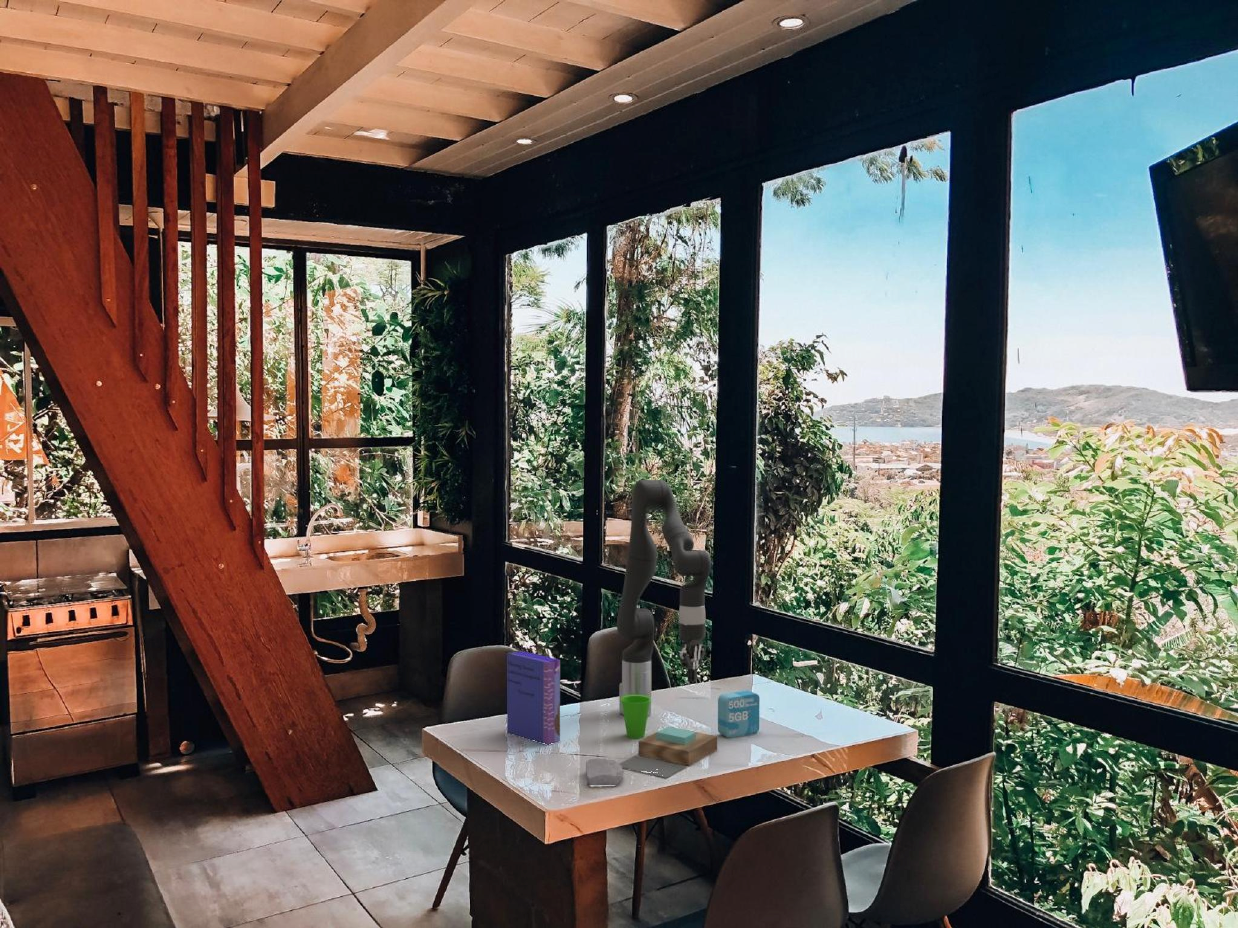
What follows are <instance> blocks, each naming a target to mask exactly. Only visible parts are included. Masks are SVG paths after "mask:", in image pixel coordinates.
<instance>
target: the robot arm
mask: <svg viewBox="0 0 1238 928" xmlns="http://www.w3.org/2000/svg"><path fill="white" fill-rule="evenodd" d="M647 511H662V512H663V513H664V515H665V518H664V521H663V525H662V535H663V538H664V540H665V542H666V544H667V546H668V547H669V549H670V552H671V557H672V564H673V568H674V571H675V573H676V574H677V575H679V576H681V577H691V576H693V578H692V580H691V581H690V582H686V583H683V584H682V585H681V586H680V589H679V610H678V637H679V638H680V639H682V645H681V648H682V650H681V651H678V652H677V657H678V660H679V661H680V664H681V665H682V668H685V669H686V670H687V682H689V683H695V682H697V680H698V679H697V678H698V676H697V675H698V673H697V672H698V668H699V666H701V665H702V662H703V660H704V657H705V654H706V651H707V645H703V639H704V638H706V608H705V604H706V603H705V599H706V598H705V597H706V595H705V593H706V588H707V582H708V579H709V576H710V571H711V568H712V560H711V559H712V558H711V556H710V555H709V553H708V552H707V551H706V550H701V549H700V550H699V549H698V550H693V549H694V547H695V543H694V540H693V538H692V536H691V534H690V533H689V531H688V529H687V528H686V525H685V524H684V522H683V520H682V517H681V514H680V512H679V511H680V510H679V508H678V505H677V502H676V499H675V497H674V494H673V491H672V489H671V487H670V485H669V483H668V482H666V481H665V480H661V479H660V480H659V479H640V480H638V481H636V482H635V484H634V486H633V489H632V497H631V519H630V521H631V523H630V535H629V542H628V549H627V554H626V555H627V556H626V566H625V574H624V580H623V581H624V583H623V587H622V588H623V589H622V596H621V599H620V603H619V608H618V613H617V618H616V619H617V620H616V628H617V629H616V630H617V635H618V636H619V637H620V639H622V640H625V641H627V640H629V641H630V640H634V641H632V644H630V645H629V646H628V647H627V648H624V650H622V654H621V655H622V656H621V657H622V658H621V660H622V661H621V663H622V664H621V665H622V666H621V679H622V680H621V682H620V683H619V684H618V685H619V687H618V688H619V691H618V692H619V695H618V696H619V697H618V698H619V700H618V701H619V703H618V704H619V705H618V706H619V707H618V708H619V710H618V713H619V714H622V715H623V716H624V713H623V706H622V701H621V700H620V699H621V697H623V696H627V695H644V696H648V697H650V698H651V699H652V655H653V652H654V643H655V642H654V640H655V619H654V615H653V613H652V612H651V610H649V608H638V603H639V601H640V599H641V598H640V597H641V596H642V594H643V592H644V591H645V590H646V588H647V587H648V585H649V584H650V582H651V581H652V579H653V577H654V575H655V572H656V568H657V559H658V549H657V546H656V544H655V541H654V540H653V538H652V536H651V534H650V532H649V529H648V527H647V526H648V525H647ZM650 715H652V700H651V701H650V704H649V710H648V716H650Z"/></svg>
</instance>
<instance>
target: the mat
mask: <svg viewBox="0 0 1238 928" xmlns="http://www.w3.org/2000/svg"><path fill="white" fill-rule="evenodd" d="M618 763H619V762H618ZM619 764H620V765H621V767H622V768H626V769H625V770H627V769H631V770H634V771H633V772H635V771H639V772H638V773H640V772H641V771H647V772H651V771H652V772H651V773H648V774H652V775H657V776H659V777H658V778H661V777H664V778H663V779H665V778H667V777H669V778H670V777H672V776H674V775H675V773H676V774H678V773H679V772H681V771H683V770H685V769H686V768H687V766H685V765H681V764H676V763H672V762H667V761H663V760H658V759H654V758H649V757H645V756H640V755H634V756H632V757H630V758H627V759H625V760H624V761H622V762H620V763H619ZM684 768H685V769H684ZM656 769H658V770H656ZM682 769H683V770H682ZM631 770H630V771H631ZM653 772H658V773H653ZM677 772H678V773H677ZM648 774H647V775H648ZM673 774H674V775H673ZM652 775H651V776H652ZM662 775H663V776H662ZM671 775H672V776H671ZM657 776H656V777H657ZM667 779H668V778H667Z"/></svg>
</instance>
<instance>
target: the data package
mask: <svg viewBox="0 0 1238 928" xmlns="http://www.w3.org/2000/svg"><path fill="white" fill-rule="evenodd" d="M760 700H761V699H760V695H759V694H758V693H756V692H754V691H751V690H741V691H733V692H727V693H722V694H720V695H719V696H718V698H717V731H718V733H719V734H720V735H722V736H724V737H726V738H727V739H731V738H738V737H743V736H750V735H755V734H757V733H758V732H759V731H760Z"/></svg>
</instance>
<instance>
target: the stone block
mask: <svg viewBox="0 0 1238 928" xmlns="http://www.w3.org/2000/svg"><path fill="white" fill-rule="evenodd" d="M624 774H625V769H622V767H621V765H620V764H619V762H618V761H616V760H614V759H607V758H605V757H603V758H599V757H596V758H588V759H587V760H586V761H585V775H586V785H587V786H588V785H616V786H618V784H619V783H620V782H621V781H622V779H623V777H624V776H623V775H624Z"/></svg>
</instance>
